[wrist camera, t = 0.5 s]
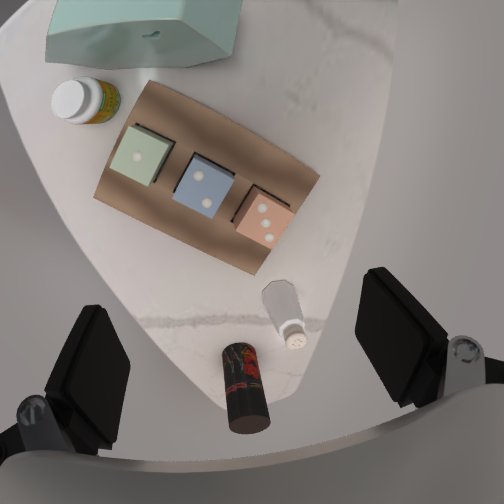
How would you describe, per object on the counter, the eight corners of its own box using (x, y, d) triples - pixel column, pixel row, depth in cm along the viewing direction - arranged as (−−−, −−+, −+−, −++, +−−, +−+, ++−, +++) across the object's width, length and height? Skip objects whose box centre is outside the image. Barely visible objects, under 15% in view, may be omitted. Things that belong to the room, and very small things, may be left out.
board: (152, 82, 28) (149, 79, 26) (315, 173, 36) (320, 176, 34) (98, 193, 33) (93, 197, 31) (252, 268, 41) (254, 275, 39)
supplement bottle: (124, 115, 29) (94, 114, 20) (87, 129, 29) (49, 133, 20) (117, 77, 27) (86, 64, 18) (81, 91, 26) (42, 86, 18)
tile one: (138, 125, 29) (128, 125, 25) (173, 142, 30) (168, 145, 27) (120, 162, 30) (108, 167, 27) (154, 179, 32) (147, 186, 28)
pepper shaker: (268, 275, 42) (285, 323, 32) (300, 283, 43) (325, 329, 33) (256, 305, 44) (269, 355, 34) (287, 310, 45) (306, 359, 35)
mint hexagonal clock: (174, 26, 28) (286, -21, 15) (165, 74, 31) (274, 49, 18) (57, 17, 17) (90, -78, 4) (44, 72, 20) (49, 9, 7)
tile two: (195, 154, 31) (193, 158, 28) (232, 173, 33) (235, 180, 29) (176, 190, 33) (171, 199, 29) (211, 208, 35) (212, 219, 31)
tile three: (253, 185, 34) (258, 193, 30) (286, 204, 36) (295, 215, 32) (232, 219, 36) (235, 231, 32) (265, 236, 37) (272, 250, 33)
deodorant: (216, 350, 47) (221, 423, 33) (246, 337, 46) (260, 410, 33) (232, 369, 49) (240, 437, 36) (260, 357, 49) (276, 426, 36)
